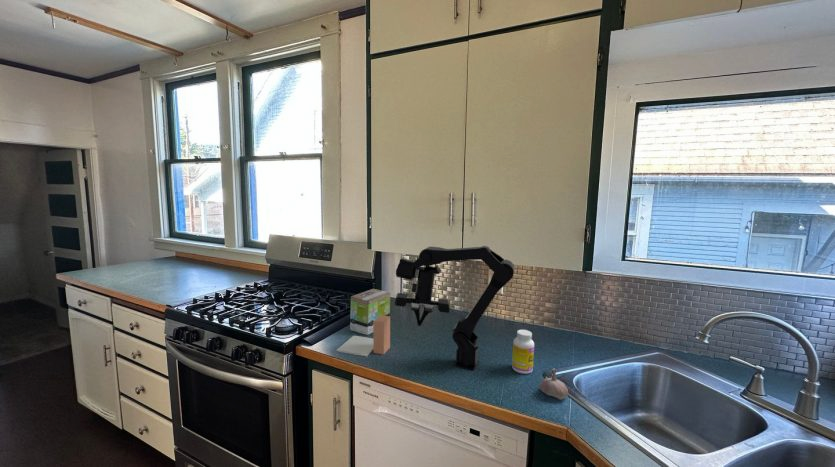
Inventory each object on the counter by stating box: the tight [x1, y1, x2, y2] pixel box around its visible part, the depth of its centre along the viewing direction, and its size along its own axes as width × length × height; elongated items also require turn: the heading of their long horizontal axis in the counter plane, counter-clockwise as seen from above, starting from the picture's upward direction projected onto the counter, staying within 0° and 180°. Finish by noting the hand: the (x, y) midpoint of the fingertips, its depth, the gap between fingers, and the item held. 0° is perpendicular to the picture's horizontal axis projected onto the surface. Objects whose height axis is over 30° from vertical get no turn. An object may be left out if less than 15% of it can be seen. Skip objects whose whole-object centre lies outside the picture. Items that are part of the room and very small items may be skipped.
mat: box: [336, 335, 373, 358], centre depth 129 cm, size 12×13×1 cm
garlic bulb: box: [539, 367, 569, 400], centre depth 100 cm, size 8×7×8 cm
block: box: [372, 315, 391, 355], centre depth 126 cm, size 4×6×12 cm, turn 163°
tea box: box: [349, 288, 391, 336], centre depth 146 cm, size 15×10×15 cm
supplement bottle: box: [511, 329, 535, 375], centre depth 114 cm, size 7×7×13 cm
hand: (419, 325), depth 121 cm, fingers closed
